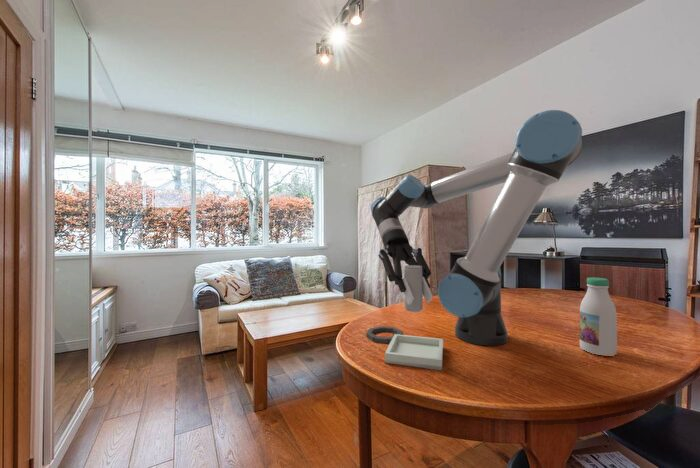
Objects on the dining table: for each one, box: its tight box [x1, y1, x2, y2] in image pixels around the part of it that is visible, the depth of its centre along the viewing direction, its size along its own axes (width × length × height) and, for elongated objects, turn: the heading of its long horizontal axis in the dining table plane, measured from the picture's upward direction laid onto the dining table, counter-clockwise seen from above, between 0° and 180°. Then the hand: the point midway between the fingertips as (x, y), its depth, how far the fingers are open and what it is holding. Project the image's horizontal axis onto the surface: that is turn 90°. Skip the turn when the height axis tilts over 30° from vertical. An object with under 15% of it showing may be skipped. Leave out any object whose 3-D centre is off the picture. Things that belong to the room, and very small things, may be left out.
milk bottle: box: [579, 276, 618, 355], centre depth 79 cm, size 8×8×20 cm
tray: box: [384, 333, 444, 371], centre depth 79 cm, size 14×14×2 cm
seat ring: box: [365, 325, 404, 344], centre depth 93 cm, size 11×11×1 cm
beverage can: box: [403, 264, 424, 313], centre depth 79 cm, size 5×5×12 cm
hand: (420, 300), depth 75 cm, fingers closed on beverage can, 5 cm apart
